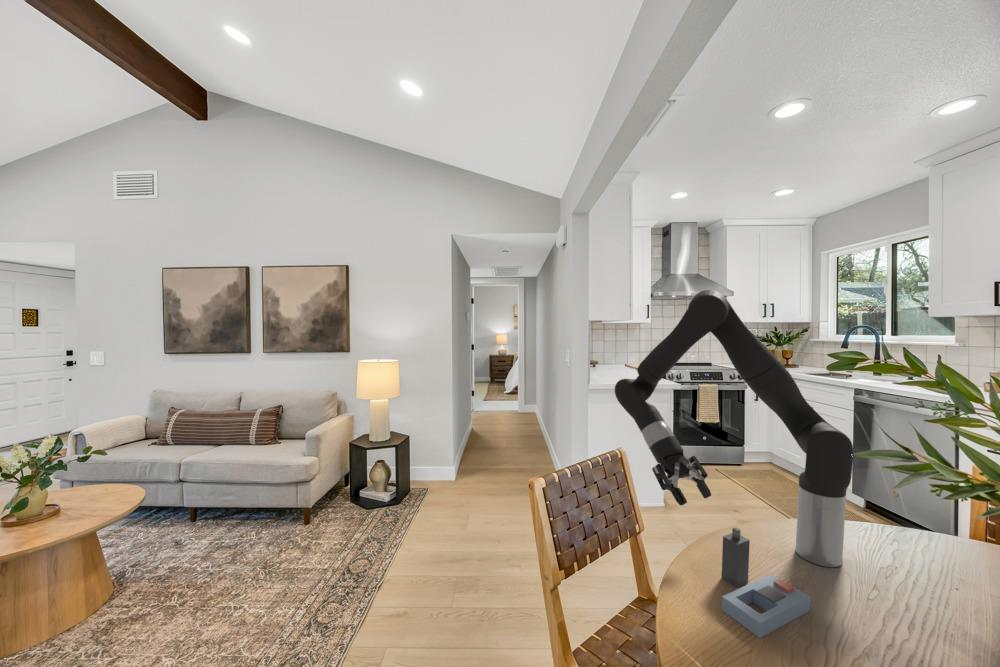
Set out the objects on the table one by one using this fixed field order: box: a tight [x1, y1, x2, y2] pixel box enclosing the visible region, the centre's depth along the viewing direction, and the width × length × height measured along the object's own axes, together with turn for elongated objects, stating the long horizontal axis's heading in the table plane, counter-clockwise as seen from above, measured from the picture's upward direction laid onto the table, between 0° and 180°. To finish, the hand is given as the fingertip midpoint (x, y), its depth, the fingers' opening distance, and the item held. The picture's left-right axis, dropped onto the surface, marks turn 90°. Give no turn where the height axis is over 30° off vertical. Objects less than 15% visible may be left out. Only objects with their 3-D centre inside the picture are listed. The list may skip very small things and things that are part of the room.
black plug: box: [721, 527, 751, 588], centre depth 95 cm, size 4×4×12 cm
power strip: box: [721, 573, 812, 639], centre depth 86 cm, size 16×8×4 cm, turn 115°
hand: (696, 500), depth 104 cm, fingers open, 8 cm apart
